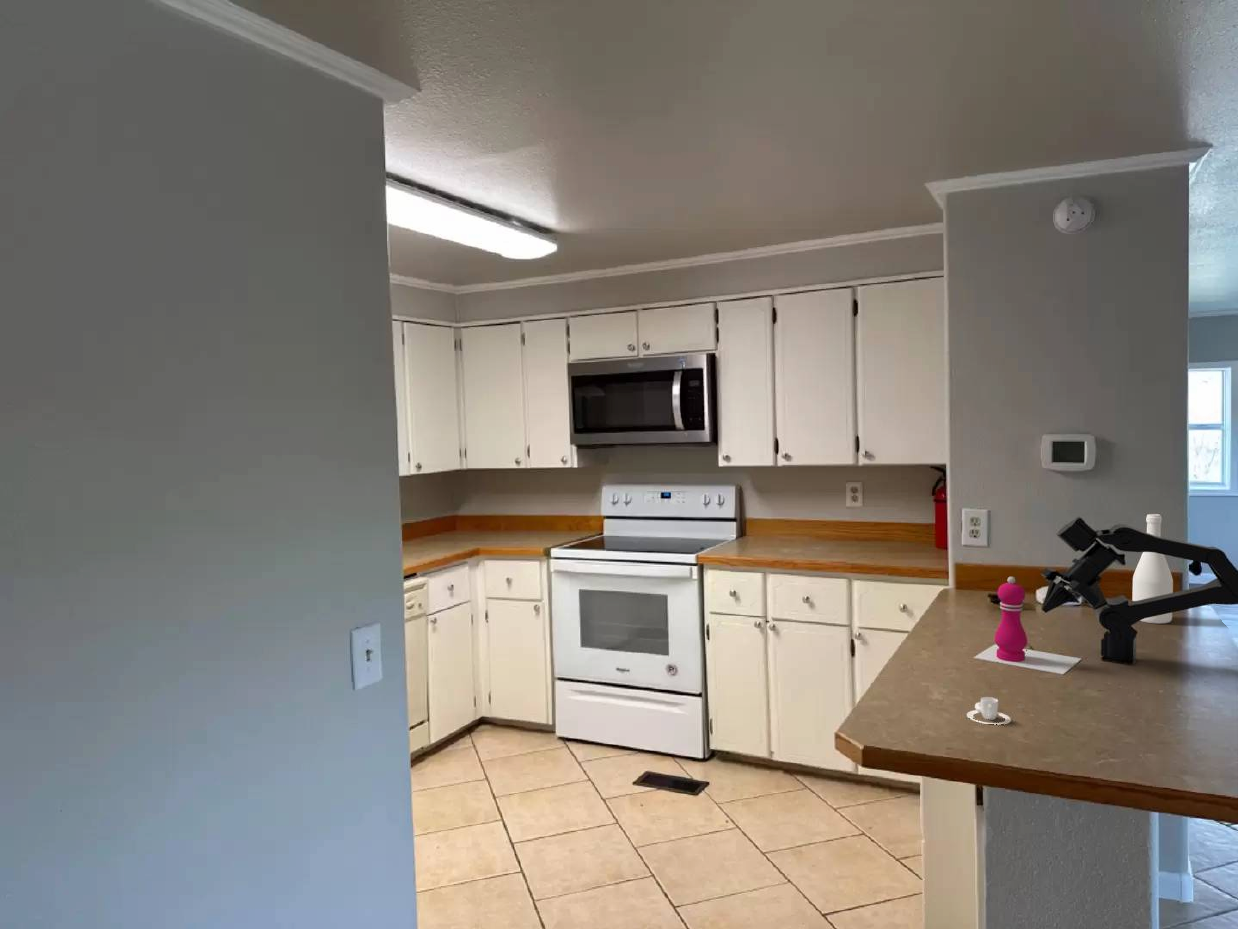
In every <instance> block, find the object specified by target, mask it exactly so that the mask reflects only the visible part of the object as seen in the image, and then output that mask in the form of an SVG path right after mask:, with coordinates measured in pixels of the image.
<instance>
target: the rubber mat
mask: <svg viewBox="0 0 1238 929" xmlns="http://www.w3.org/2000/svg"><path fill="white" fill-rule="evenodd" d="M998 648H999V647H998V646H997V644H996V643H995V644H993V645H991V646H990V647H988V648H986V649H985V650H983V651H982V652H980V653H979V654H977V655H976V656H975V655H974V657H973V659H975V660H982V661H987V662H992V663H997V662H998V663H997V664H1002V663H1003V664H1004V665H1009V666H1013V667H1020V668H1025V669H1031V670H1035V671H1042V672H1047V673H1052V674H1058V675H1065V674H1066V673H1067V672H1069V671H1070V670H1071V669H1072V668H1073V667H1074V666H1075V665H1076V664H1078V663H1079V662H1080V661H1082V658H1080V657H1074V656H1068V655H1061V654H1057V653H1051V652H1044V651H1039V650H1034V649H1026V648H1024V649H1023V651H1024V652H1025V660H1024V661H1019V662H1011V661H1005V660H1001V659H999V658H997V649H998ZM1026 650H1027V651H1026ZM1003 664H1002V665H1003Z"/></svg>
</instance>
